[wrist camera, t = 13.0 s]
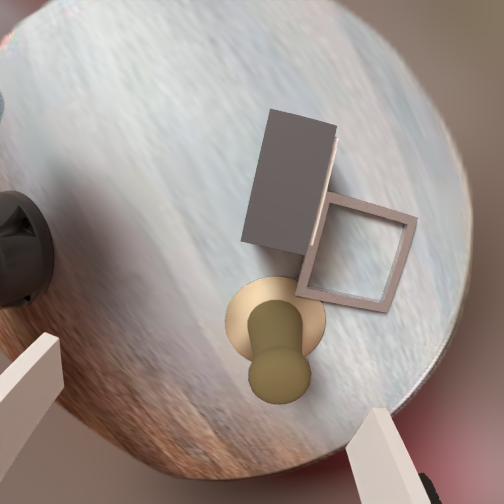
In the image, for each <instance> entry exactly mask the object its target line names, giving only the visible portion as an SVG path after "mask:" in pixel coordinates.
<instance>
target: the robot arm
mask: <svg viewBox="0 0 504 504" xmlns="http://www.w3.org/2000/svg"><path fill="white" fill-rule="evenodd" d="M3 112H4V98H3V95H2V93H1V92H0V122H1V119H2V115H3ZM53 262H54V258H53V246H52V241H51V237H50V233H49V230H48V227H47V224H46V222H45V220H44V218H43V216H42V214H41V212H40V211H39V209H38V208H37V206H36V205H35V204H34V203H33V202H32V201H31V200H30V199H29V198H28V197H27V196H25V195H24V194H22V193H20V192H17V191H5V192H0V310H1V309H9V308H17V307H23V306H26V305H28V304H30V303H32V302H33V301H35V300H36V299H38V298H39V297H41V296H42V295H43V294H44V292H45V291H46V290H47V288H48V286H49V284H50V281H51V277H52V273H53ZM63 388H64V381H63V373H62V364H61V354H60V342H59V338H58V337H55V336H53V335H50V334H48V333H46V332H44V333H43V334H42V335H41V336H40V337H39V338H38V339H37V340H36V341H35V342H34V343H33V344H31V345H30V346H29V347H28V348H27V349H26V350H25V351H24V352H23V353H22V354H21V355H20V356H19V357H18V358H17V359H16V360H15V361H14V362H13V363H12V364H11V365H10V366H9V367H8V368H7V369H6V370H5V371H4V372H3V373H2V374H1V375H0V482H1V480H2V479H3V477H4V475H5V474H6V472H7V470H8V469H9V467H10V466H11V464H12V462H13V461H14V459H15V458H16V456H17V455H18V453H19V452H20V450H21V449H22V447H23V445H24V444H25V442H26V441H27V439H28V438H29V436H30V435H31V433H32V432H33V431H34V429H35V428H36V426H37V425H38V423H39V422H40V420H41V419H42V417H43V416H44V415H45V413H46V412H47V410H48V409H49V408H50V406H51V405H52V403H53V402H54V400H55V399H56V398H57V396H58V395H59V394H60V392H61V391H62V389H63ZM346 451H347V454H348V458H349V461H350V464H351V468H352V471H353V475H354V478H355V482H356V485H357V489H358V492H359V495H360V499H361V503H362V504H442V503H441V501H440V500H439V496H438V494H437V493H436V490H435V488H434V486H433V483H432V481H431V480H430V479H429V478H428V477H427V476H426V475H425V474H424V473H419V474H418V473H417V471H416V469H415V467H414V465H413V463H412V461H411V458H410V456H409V454H408V452H407V450H406V448H405V446H404V443H403V441H402V439H401V437H400V435H399V433H398V431H397V429H396V427H395V425H394V423H393V421H392V419H391V417H390V415H389V413H388V411H387V409H386V408H372V409H371V410H370V412H369V413H368V415H367V417H366V418H365V420H364V421H363V423H362V424H361V426H360V428H359V429H358V431H357V432H356V434H355V435H354V437H353V438H352V439H351V441H350V442H349V444H348V445H347V447H346Z"/></svg>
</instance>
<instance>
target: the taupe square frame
mask: <svg viewBox="0 0 504 504" xmlns="http://www.w3.org/2000/svg"><path fill="white" fill-rule="evenodd" d="M329 203H334V204H338V205H341V206H345V207H349V208H353V209H356V210H360V211H363V212H367V213H371V214H374V215H378V216H381V217H384V218H388V219H391V220H395V221H398V222H401V223H405V224H404V228H403V231H402V235H401V238H400V242H399V245H398V249H397V252H396V255H395V258H394V262H393V265H392V268H391V271H390V274H389V277H388V280H387V283H386V286H385V289H384V292H383V294H382V297H381V300H375V299H370V298H365V297H360V296H355V295H350V294H345V293H339V292H334V291H329V290H325V289H320V288H315V287H310V286H308V287H307V285H308V282H309V278H310V275H311V271H312V268H313V264H314V260H315V257H316V253H317V249H318V246H319V242H320V238H321V235H322V231H323V227H324V223H325V219H326V215H327V211H328V207H329ZM417 219H418V218H417V217H414V216H411V215H408V214H405V213H401V212H398V211H395V210H392V209H389V208H385V207H382V206H379V205H375V204H372V203H368V202H365V201H361V200H358V199H354V198H351V197H347V196H344V195H340V194H336V193H333V192H329V191H326V196H325V200H324V204H323V208H322V212H321V216H320V220H319V224H318V228H317V231H316V235H315V239H314V243H313V245H309V246H308V250H307V253H306V256H305V255H304V258H303V261H302V265H301V269H300V272H299V276H298V279H297V281H298V282H297V285H296V289H295V292H294V295H295V296H300V297H306V298H311V299H316V300H321V301H326V302H331V303H337V304H342V305H347V306H353V307H358V308H364V309H369V310H375V311H380V312H386V313H387V312H388V309H389V307H390V304H391V301H392V299H393V296H394V293H395V290H396V287H397V285H398V282H399V279H400V276H401V273H402V270H403V267H404V264H405V261H406V257H407V254H408V251H409V248H410V244H411V241H412V237H413V234H414V230H415V227H416V223H417Z"/></svg>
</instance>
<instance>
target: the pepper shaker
mask: <svg viewBox="0 0 504 504" xmlns="http://www.w3.org/2000/svg"><path fill="white" fill-rule="evenodd" d="M247 329H248V334H249V339H250V343H251V348H252V353H253V358H254V359H253V361H252V363H251V366H250V368H249V378H248V381H249V384H250V386H251V389H252V391H253V392H254V393H255V395H256V396H257V397H258V398H260V399H261V400H263V401H265V402H267V403H271V404H287V403H291V402H293V401H295V400H297V399H298V398H300V397H301V396H302V395H303V394H304V393H305V392H306V390H307V388H308V387H309V385H310V379H311V370H310V366H309V363H308V361H307V360H306V358H305V357H304V356H303V355H302V333H303V321H302V317H301V314H300V312H299V311H298V309H297V308H296V307H295V306H293V305H292V304H291V303H289V302H286V301H283V300H269V301H265V302H262V303H261V304H259V305H258V306H256V307H255V308H254V309H253V311H252V312H251V313H250V315H249V318H248V320H247Z"/></svg>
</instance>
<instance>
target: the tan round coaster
mask: <svg viewBox="0 0 504 504" xmlns="http://www.w3.org/2000/svg"><path fill="white" fill-rule="evenodd" d="M297 282H298V281H297V280H296V279H292V278H289V277H282V276H272V277H265V278H261V279H258V280H255V281H253V282H251V283H249V284H247V285H246V286H244V287H243V288H242V289H241V290H239V291H238V292H237V293H236V295H235V296H234V297H233V299H232V300H231V302H230V304H229V306H228V308H227V312H226V316H225V329H226V334H227V337H228V339H229V341H230V343H231V344H232V346H233V347H234V348H235V350H236V351H237V352H238V353H239V354H241V355H242V356H243V357H245V358H246V359H248V360H250V361H253V359H254V358H253V353H252V348H251V343H250V339H249V334H248V329H247V320H248V318H249V315H250V313H251V312H252V311H253V309H254V308H255V307H256V306H258V305H259V304H261V303H262V302H265V301H269V300H283V301H286V302H289V303H291V304H292V305H293V306H295V307H296V308H297V309H298V311H299V312H300V314H301V317H302V321H303V333H302V355H303V356H304V357H305V356H306V355H307V354H309V353H310V352H311V351H312V350H313V349H314V348H315V347H316V345H317V344H318V343H319V341H320V339H321V337H322V335H323V332H324V329H325V311H324V308H323V305H322V303H321V301H320V300H316V299H311V298H306V297H300V296H295V295H294V292H295V289H296V285H297ZM307 287H308V286H307Z"/></svg>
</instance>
